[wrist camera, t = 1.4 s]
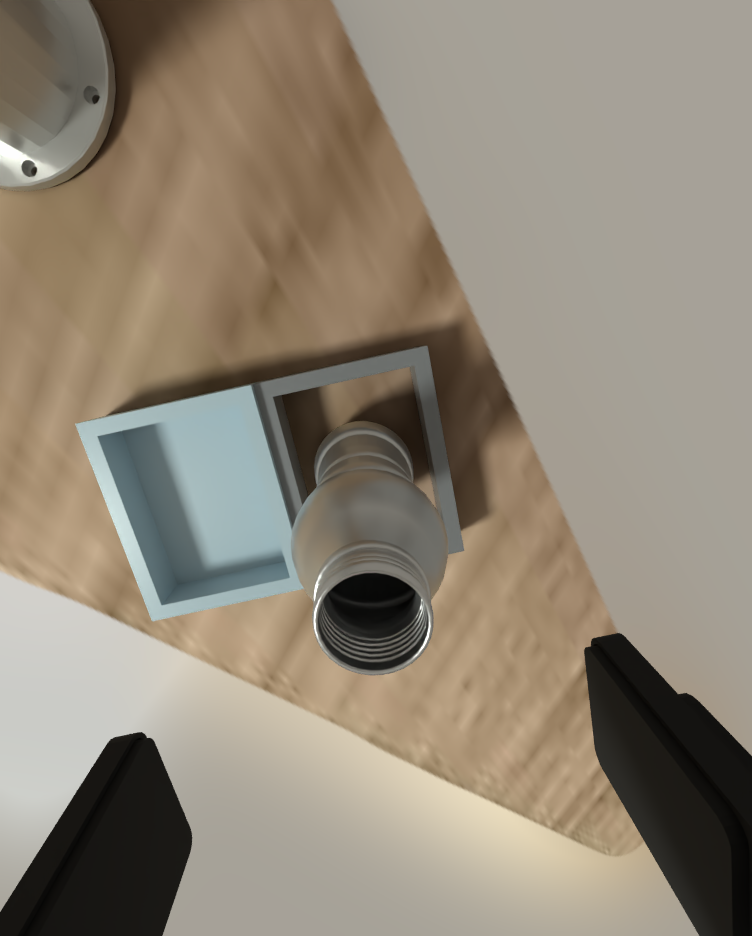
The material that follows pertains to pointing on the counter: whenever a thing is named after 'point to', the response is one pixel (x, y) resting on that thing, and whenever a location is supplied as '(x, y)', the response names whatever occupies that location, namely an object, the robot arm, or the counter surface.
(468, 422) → the counter surface
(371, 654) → the plastic bottle
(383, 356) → the bin
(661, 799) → the robot arm
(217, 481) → the bin
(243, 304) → the counter surface
